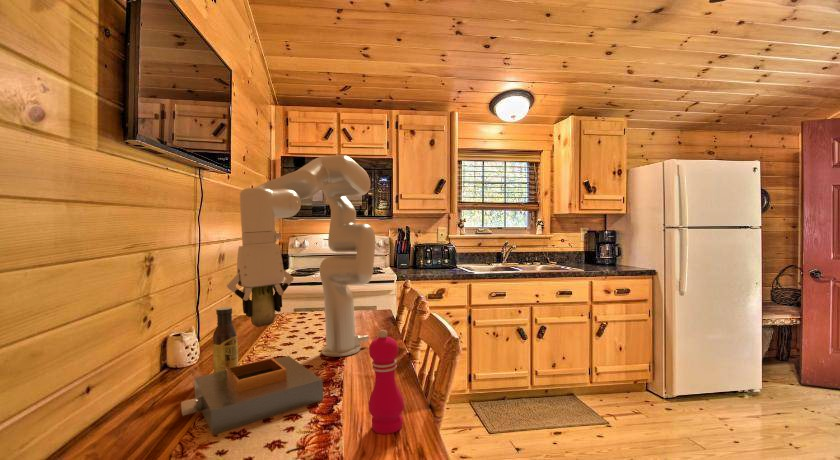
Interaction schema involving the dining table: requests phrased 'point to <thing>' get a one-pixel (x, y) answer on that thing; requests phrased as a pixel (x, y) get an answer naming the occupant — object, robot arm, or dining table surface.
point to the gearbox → (253, 392)
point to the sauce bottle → (224, 341)
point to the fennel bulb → (262, 306)
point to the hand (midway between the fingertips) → (263, 312)
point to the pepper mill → (385, 386)
